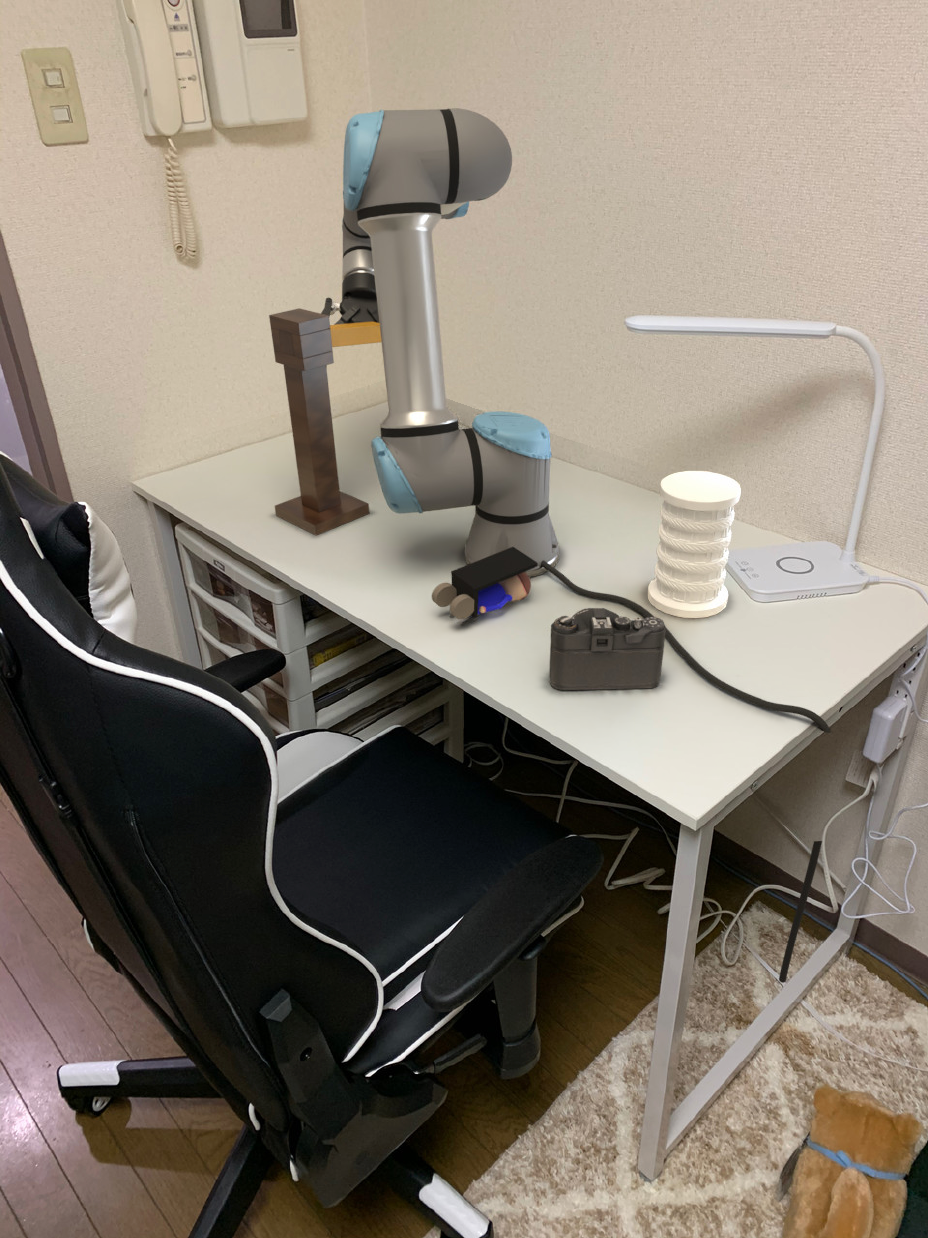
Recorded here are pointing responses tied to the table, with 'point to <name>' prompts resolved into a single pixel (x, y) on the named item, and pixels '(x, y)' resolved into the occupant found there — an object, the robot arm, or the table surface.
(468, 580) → the figurine character
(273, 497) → the table surface
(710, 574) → the decorative container
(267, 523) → the table surface
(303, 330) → the stand
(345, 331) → the peg
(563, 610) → the table surface
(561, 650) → the camera
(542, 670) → the table surface
